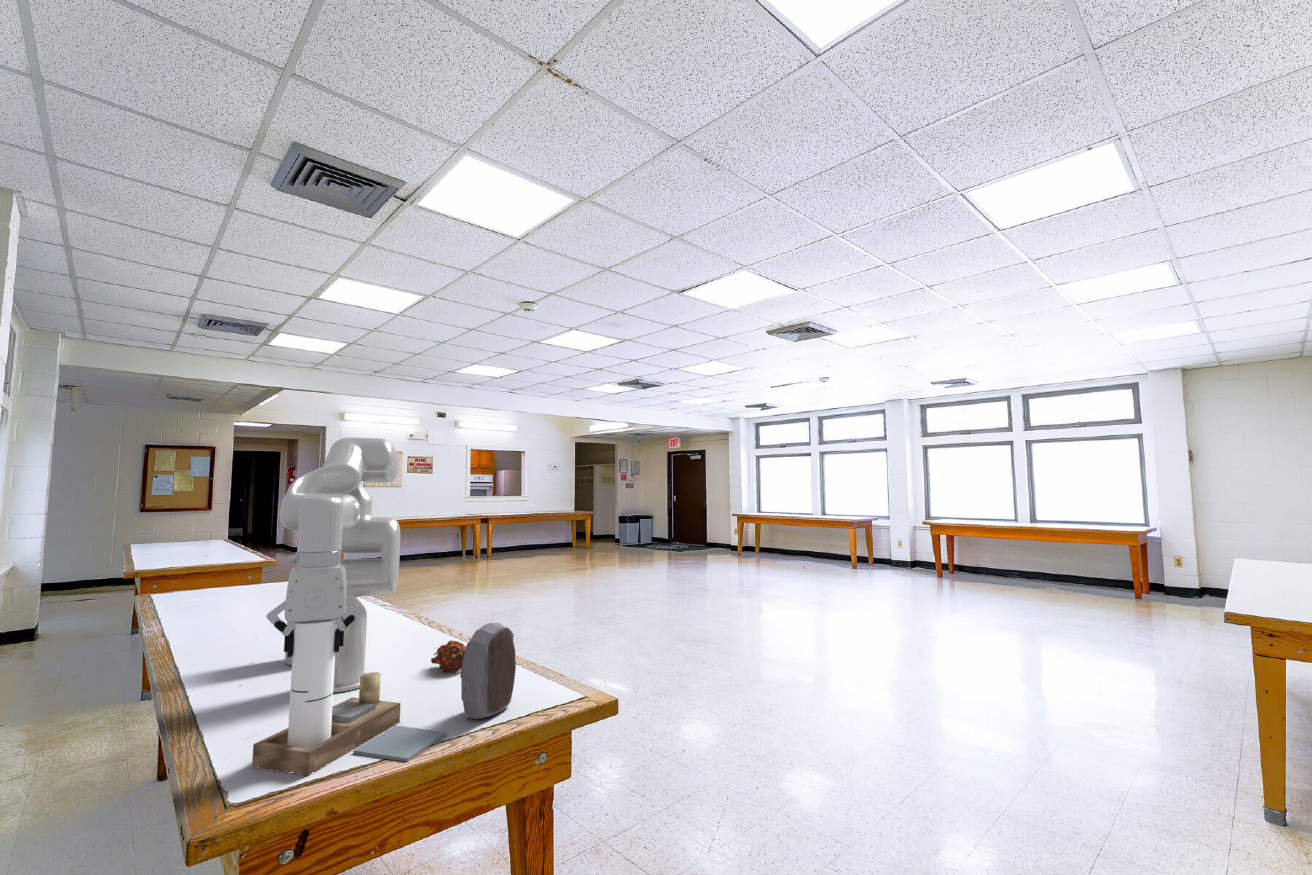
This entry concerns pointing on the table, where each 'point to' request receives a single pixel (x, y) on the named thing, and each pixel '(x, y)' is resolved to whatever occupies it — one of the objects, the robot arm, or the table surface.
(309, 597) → the robot arm
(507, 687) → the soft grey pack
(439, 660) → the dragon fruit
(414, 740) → the mat
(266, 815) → the table surface
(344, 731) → the wooden divided tray
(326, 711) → the cylindrical container
